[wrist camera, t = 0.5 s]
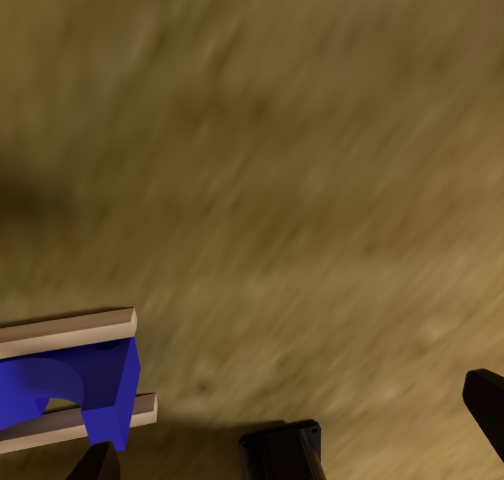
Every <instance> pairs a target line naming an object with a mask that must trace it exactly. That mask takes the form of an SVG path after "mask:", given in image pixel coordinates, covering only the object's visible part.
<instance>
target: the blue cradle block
mask: <svg viewBox="0 0 504 480" xmlns="http://www.w3.org/2000/svg"><path fill="white" fill-rule="evenodd" d="M139 373H140V364H139V359H138V354H137V349H136V344H135V339H134V337H128V338H122V339H116V340H110V341H104V342H98V343H92V344H86V345H80V346H74V347H68V348H62V349H56V350H50V351H44V352H38V353H32V354H26V355H20V356H14V357H8V358H2V359H0V430H3V429H5V428H7V427H9V426H12V425H15V424H17V423H20V422H24V421H27V420H31V419H35V418H40V417H41V416H42V414H43V412H44V410H45V408H46V406H47V404H48V401H49V398H61V399H66V400H70V401H73V402H75V403H77V404H79V405H81V406H82V408H81V415H82V418H83V421H84V424H85V428H86V431H87V434H88V438H89V441H90V444H91V446H92V445H93V444H94V443H98V442H103V441H108V440H109V441H112V442H113V444H114V447H115V450H116V452H118V451H124V450H126V444H127V439H128V434H129V428H130V423H131V417H132V412H133V406H134V401H135V395H136V390H137V384H138V379H139Z"/></svg>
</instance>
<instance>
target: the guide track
mask: <svg viewBox="0 0 504 480" xmlns="http://www.w3.org/2000/svg"><path fill="white" fill-rule="evenodd" d="M137 323H138V320H137V316H136V312H135V308H129V309H122V310H116V311H109V312H103V313H97V314H90V315H84V316H77V317H71V318H65V319H58V320H52V321H45V322H39V323H33V324H26V325H20V326H13V327H7V328H0V359H2V358H8V357H14V356H20V355H26V354H32V353H38V352H44V351H50V350H56V349H62V348H68V347H74V346H80V345H86V344H92V343H98V342H104V341H110V340H116V339H122V338H128V337H134V335H135V331H136V327H137ZM81 408H82V407H80V408H75V409H70V410H64V411H59V412H54V413H49V414H43V415H42V416H41V417H40V418H35V419H31V420H27V421H24V422H20V423H17V424H15V425H12V426H9V427H7V428H5V429H3V430H0V454H1V453H6V452H11V451H16V450H21V449H26V448H31V447H36V446H41V445H46V444H51V443H56V442H61V441H66V440H71V439H76V438H81V437H86V436H88V434H87V431H86V428H85V424H84V421H83V418H82V415H81ZM157 410H158V401H157V397H156V393H154V394H149V395H143V396H138V397H135V401H134V406H133V412H132V417H131V423H130V427H135V426H140V425H145V424H150V423H155V422H156V420H157Z"/></svg>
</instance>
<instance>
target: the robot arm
mask: <svg viewBox="0 0 504 480" xmlns="http://www.w3.org/2000/svg"><path fill="white" fill-rule="evenodd" d="M462 396H463V400H464V403H465V405H466V406H467V408H468V409H469V411H470V413H471V414H472V416H473V417H474V419H475V420H476V422H477V423H478V425H479V426H480V428H481V429H482V431H483V432H484V434H485V435H486V437H487V439H488V440H489V442H490V443H491V445H492V446H493V448H494V449H495V451H496V452H497V454H498V455H499V457H500V458H501V460H502V461H503V463H504V377H502V376H500V375H498V374H496V373H494V372H491V371H489V370H487V369H476V370H470V371H468V372H467V374H466V378H465V383H464V388H463V393H462ZM239 445H240V453H241V461H242V469H243V477H244V480H327V479H326V477H325V474H324V471H323V469H322V466H321V428H320V425H319V423H318V422H316V421H315V422H309V423H304V424H300V425H295V426H290V427H286V428H281V429H276V430H272V431H267V432H262V433H258V434H253V435H248V436H244V437H242V438H241V439H240V440H239ZM65 480H120V463H119V460H118V457H117V453H116V450H115V447H114V444H113V442H112V441H109V440H108V441H103V442H98V443H94V444H93V445H92V446H90V448H89V449H88V450H87V452H86V453H85V454H84V456H83V457H82V458H81V460H80V461H79V462H78V463H77V465H76V466H75V467H74V469H73V470H72V471H71V473H70V474H69V475H68V477H67V478H66V479H65Z"/></svg>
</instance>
